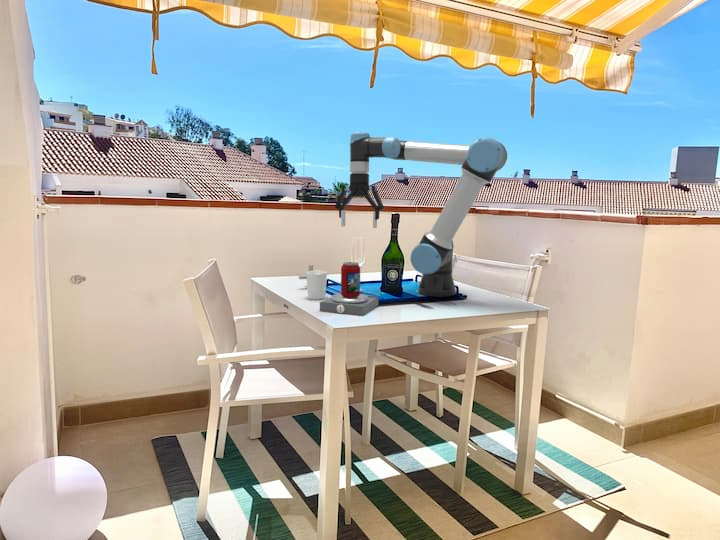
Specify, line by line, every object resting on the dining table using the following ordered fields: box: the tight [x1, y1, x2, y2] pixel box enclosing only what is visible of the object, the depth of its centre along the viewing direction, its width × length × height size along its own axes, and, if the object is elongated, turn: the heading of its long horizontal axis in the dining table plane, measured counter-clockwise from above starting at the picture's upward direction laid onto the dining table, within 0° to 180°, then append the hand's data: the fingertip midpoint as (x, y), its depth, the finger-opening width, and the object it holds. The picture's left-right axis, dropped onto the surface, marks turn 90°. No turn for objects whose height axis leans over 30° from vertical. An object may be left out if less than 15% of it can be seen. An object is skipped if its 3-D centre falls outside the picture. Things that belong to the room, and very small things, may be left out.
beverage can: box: [340, 261, 361, 298], centre depth 175 cm, size 7×7×12 cm
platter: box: [331, 292, 368, 304], centre depth 176 cm, size 13×13×1 cm
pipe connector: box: [298, 264, 314, 280], centre depth 209 cm, size 10×10×10 cm
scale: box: [319, 292, 379, 316], centre depth 176 cm, size 16×17×3 cm
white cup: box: [305, 270, 328, 301], centre depth 191 cm, size 8×8×10 cm
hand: (358, 227), depth 199 cm, fingers open, 13 cm apart
